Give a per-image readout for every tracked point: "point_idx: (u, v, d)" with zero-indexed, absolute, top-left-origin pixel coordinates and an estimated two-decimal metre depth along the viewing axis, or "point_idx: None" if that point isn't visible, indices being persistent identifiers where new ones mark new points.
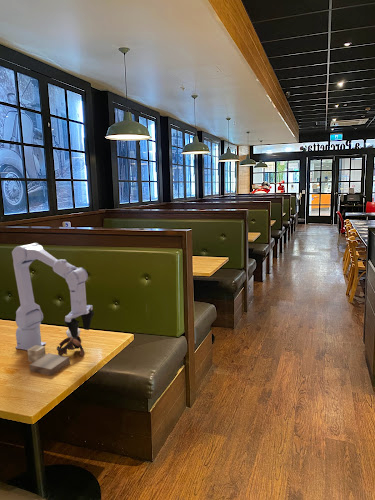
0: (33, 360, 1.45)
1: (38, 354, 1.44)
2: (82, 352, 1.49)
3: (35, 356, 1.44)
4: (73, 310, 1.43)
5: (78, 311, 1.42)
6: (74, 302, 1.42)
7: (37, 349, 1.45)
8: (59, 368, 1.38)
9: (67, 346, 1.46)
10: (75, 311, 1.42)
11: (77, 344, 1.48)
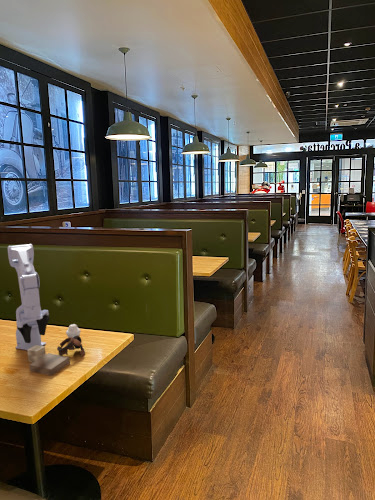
0: (33, 360, 1.45)
1: (37, 354, 1.44)
2: (83, 352, 1.49)
3: (35, 356, 1.44)
4: (26, 315, 1.41)
5: (31, 316, 1.41)
6: (27, 307, 1.40)
7: (37, 349, 1.45)
8: (59, 368, 1.38)
9: (68, 346, 1.46)
10: (28, 316, 1.41)
11: (78, 344, 1.48)
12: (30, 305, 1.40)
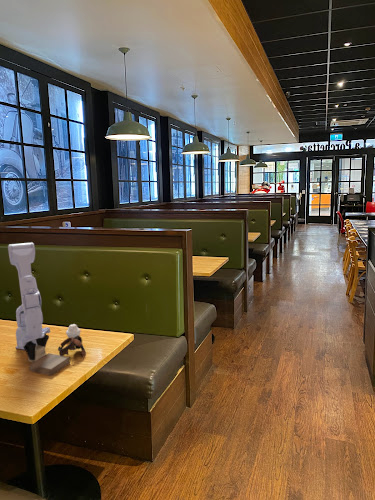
0: (33, 360, 1.44)
1: (37, 353, 1.44)
2: (83, 352, 1.49)
3: (35, 356, 1.44)
4: (28, 334, 1.42)
5: (33, 335, 1.42)
6: (28, 326, 1.41)
7: (37, 349, 1.45)
8: (59, 368, 1.38)
9: (68, 346, 1.45)
10: (30, 335, 1.42)
11: (78, 344, 1.48)
12: (32, 324, 1.41)
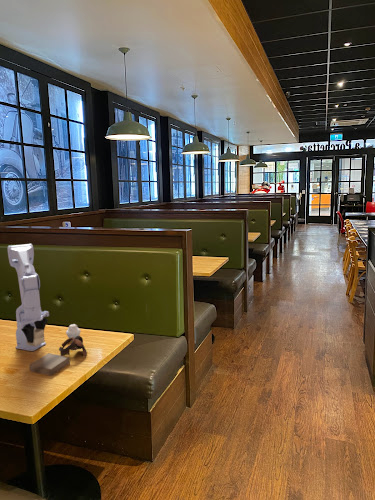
0: (32, 343, 1.43)
1: (36, 336, 1.42)
2: (85, 352, 1.49)
3: (34, 339, 1.42)
4: (26, 317, 1.41)
5: (31, 318, 1.41)
6: (27, 308, 1.40)
7: (36, 332, 1.43)
8: (59, 368, 1.38)
9: (70, 347, 1.45)
10: (28, 318, 1.41)
11: (80, 344, 1.48)
12: (30, 306, 1.40)
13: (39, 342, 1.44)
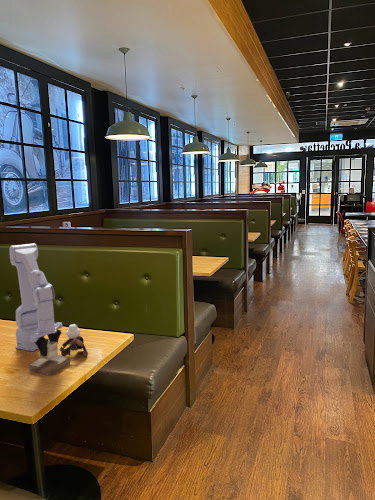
0: (45, 356, 1.38)
1: (50, 349, 1.37)
2: (85, 353, 1.49)
3: (47, 352, 1.37)
4: (40, 329, 1.36)
5: (45, 330, 1.35)
6: (40, 321, 1.35)
7: (49, 345, 1.38)
8: (59, 368, 1.38)
9: (71, 347, 1.45)
10: (42, 330, 1.35)
11: (80, 345, 1.48)
12: (45, 318, 1.35)
13: (52, 355, 1.39)
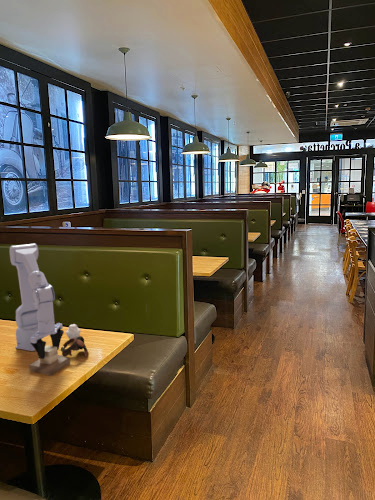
0: (45, 361, 1.38)
1: (50, 354, 1.37)
2: (86, 353, 1.49)
3: (47, 357, 1.37)
4: (40, 330, 1.36)
5: (45, 331, 1.35)
6: (41, 322, 1.35)
7: (49, 349, 1.38)
8: (59, 368, 1.38)
9: (71, 347, 1.45)
10: (42, 331, 1.35)
11: (81, 345, 1.47)
12: (45, 319, 1.35)
13: (53, 360, 1.39)
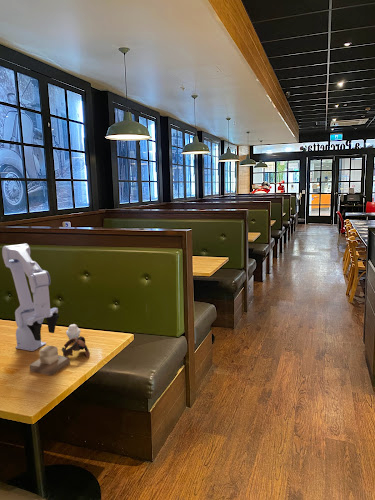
0: (45, 361, 1.38)
1: (50, 354, 1.37)
2: (87, 353, 1.49)
3: (47, 357, 1.37)
4: (36, 313, 1.42)
5: (41, 314, 1.41)
6: (37, 305, 1.41)
7: (49, 350, 1.38)
8: (59, 368, 1.38)
9: (73, 347, 1.45)
10: (38, 314, 1.41)
11: (82, 345, 1.47)
12: (42, 303, 1.41)
13: (53, 360, 1.39)
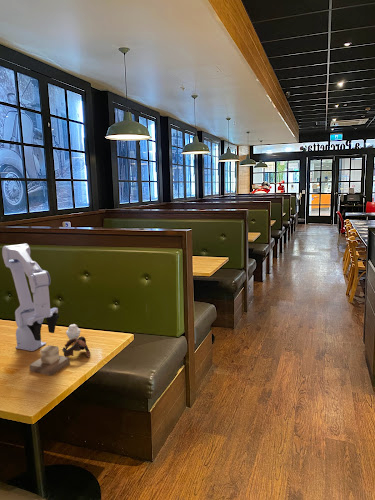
0: (46, 361, 1.38)
1: (51, 354, 1.38)
2: (88, 353, 1.48)
3: (49, 357, 1.37)
4: (36, 313, 1.42)
5: (41, 314, 1.41)
6: (37, 305, 1.41)
7: (50, 349, 1.38)
8: (59, 368, 1.38)
9: (73, 347, 1.44)
10: (38, 314, 1.41)
11: (83, 345, 1.47)
12: (42, 303, 1.41)
13: (54, 360, 1.39)
